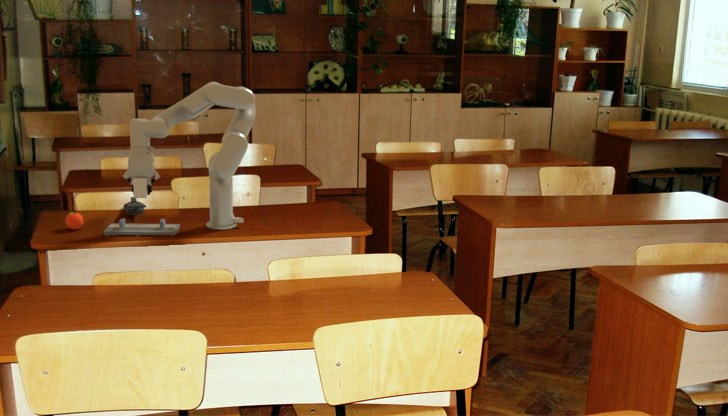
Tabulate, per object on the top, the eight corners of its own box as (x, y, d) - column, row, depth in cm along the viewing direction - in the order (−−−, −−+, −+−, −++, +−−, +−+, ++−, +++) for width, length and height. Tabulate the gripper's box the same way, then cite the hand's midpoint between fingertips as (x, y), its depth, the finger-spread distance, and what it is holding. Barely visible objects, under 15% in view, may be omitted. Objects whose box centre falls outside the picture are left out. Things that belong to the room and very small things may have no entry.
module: (150, 194, 309) (149, 174, 307) (146, 198, 302) (145, 178, 300) (137, 194, 308) (137, 174, 306) (133, 197, 301) (133, 177, 299)
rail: (175, 226, 310) (175, 219, 309) (174, 229, 305) (174, 221, 305) (111, 226, 307) (110, 218, 306) (108, 229, 303) (108, 221, 302)
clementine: (59, 230, 304) (58, 213, 303) (71, 226, 311) (70, 209, 309) (76, 232, 302) (75, 215, 301) (87, 228, 309) (86, 211, 307)
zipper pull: (125, 206, 320) (122, 193, 343) (126, 221, 321) (123, 207, 344) (147, 205, 323) (142, 192, 346) (148, 220, 325) (143, 206, 347)
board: (179, 227, 314) (179, 224, 314) (175, 235, 302) (175, 232, 301) (111, 227, 311) (110, 223, 311) (103, 235, 299) (103, 231, 298)
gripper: (163, 148, 305) (165, 192, 309) (121, 147, 303) (122, 191, 308) (160, 151, 298) (161, 196, 302) (116, 150, 296) (118, 195, 300)
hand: (142, 193), depth 305 cm, fingers closed on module, 5 cm apart
